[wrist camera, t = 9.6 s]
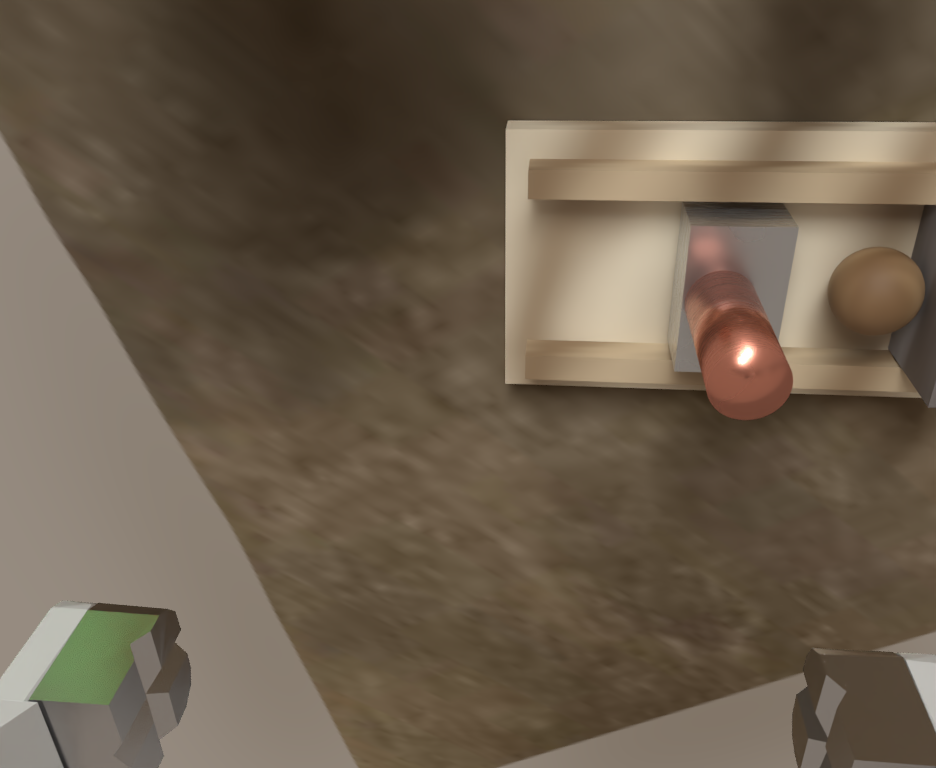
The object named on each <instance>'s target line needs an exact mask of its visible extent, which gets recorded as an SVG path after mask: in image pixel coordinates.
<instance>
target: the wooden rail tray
mask: <svg viewBox="0 0 936 768" xmlns="http://www.w3.org/2000/svg"><path fill="white" fill-rule="evenodd" d="M682 201H694V202H769V203H783V204H784V206H785V207H786V209H787V210H788V212H789V213H790V215H791V216H792V218H793V219H794V221H795V222H796V224H797V225H798V227H799V230H798V236H797V241H796V247H795V252H794V258H793V263H792V269H791V274H790V280H789V285H788V291H787V296H786V301H785V307H784V312H783V318H782V323H781V329H780V334H779V340H778V341H779V344H780V346H781V348H782V350H783V353H784V355H785V357H786V359H787V361H788V364H789V366H790V368H791V371H792V374H793V387H792V390H791V393H793V394H822V395H851V396H880V397H909V398H922V399H923V401H924V402H925V404H926V405H927V407H931V408H936V122H755V121H524V120H508V123H507V127H506V267H505V384H534V385H563V386H591V387H620V388H649V389H678V390H706V387H705V384H704V380H703V376H702V372H676V371H674V368H673V363H672V359H671V354H670V349H669V344H668V340H667V337H668V328H669V319H670V309H671V300H672V291H673V282H674V273H675V264H676V254H677V245H678V236H679V227H680V218H681V208H682ZM870 247H888V248H892V249H895V250H898V251H900V252H902V253H904V254H906V255H907V256H909V257H910V258H911V259H912V260H913V261H914V262H915V263H916V264H917V266H918V267H919V269H920V270H921V272H922V275H923V278H924V281H925V297H924V301H923V304H922V306H921V308H920V310H919V312H918V313H917V315H916V316H915V317H914V318H913V320H911V321H910V322H909V323H908V324H907V325H905V326H904V327H902V328H901V329H899V330H897V331H895V332H892V333H889V334H885V335H876V336H872V335H863V334H860V333H857V332H854V331H852V330H850V329H848V328H847V327H845V326H844V325H842V324H841V323H840V322H839V321H838V320H837V318H836V317H835V316H834V314H833V313H832V311H831V308H830V306H829V303H828V296H827V290H828V284H829V280H830V278H831V275H832V273H833V272H834V270H835V268H836V267H837V266H838V265H839V264H840V263H841V262H842V261H843V260H844V259H845V258H846V257H848V256H849V255H851V254H852V253H854V252H856V251H859V250H862V249H865V248H870Z"/></svg>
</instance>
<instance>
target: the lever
mask: <svg viewBox="0 0 936 768" xmlns="http://www.w3.org/2000/svg"><path fill="white" fill-rule="evenodd" d="M798 230H799V227H798V225H797V224H796V222H795V221H794V219H793V218H792V216H791V215H790V213H789V212H788V210H787V209H786V207H785V206H784V204H783V203H769V202H694V201H682V208H681V218H680V227H679V236H678V245H677V254H676V264H675V273H674V282H673V291H672V300H671V309H670V319H669V328H668V337H667V340H668V344H669V349H670V354H671V359H672V363H673V368H674V371H676V372H702V376H703V380H704V384H705V387H706V391H707V395H708V398H709V400H710V402H711V404H712V405H713V407H714V408H715V409H716V410H717V411H719V412H720V413H722V414H723V415H725V416H727V417H730V418H733V419H738V420H753V419H758V418H762V417H765V416H767V415H769V414H771V413H773V412H774V411H776V410H777V409H779V408H780V407H781V406H782V405H783V404H784V403H785V401H786V400H787V399H788V397H789V395H790V393H791V390H792V387H793V374H792V371H791V368H790V366H789V364H788V361H787V359H786V357H785V355H784V353H783V350H782V348H781V346H780V344H779V341H778V340H779V334H780V329H781V323H782V318H783V312H784V307H785V301H786V296H787V291H788V285H789V280H790V274H791V269H792V263H793V258H794V252H795V247H796V241H797V236H798Z"/></svg>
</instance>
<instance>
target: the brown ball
mask: <svg viewBox="0 0 936 768" xmlns="http://www.w3.org/2000/svg"><path fill="white" fill-rule="evenodd" d="M827 296H828V303H829V306H830V308H831V311H832V313H833V314H834V316H835V317H836V318H837V320H838V321H839V322H840V323H841V324H842V325H844V326H845V327H847V328H848V329H850V330H852V331H854V332H857V333H860V334H863V335H872V336H876V335H885V334H889V333H892V332H895V331H897V330H899V329H901V328H902V327H904V326H905V325H907V324H908V323H909V322H910V321H911V320H913V318H914V317H915V316H916V315H917V313H918V312H919V310H920V308H921V306H922V304H923V301H924V297H925V281H924V278H923V275H922V272H921V270H920V269H919V267H918V266H917V264H916V263H915V262H914V261H913V260H912V259H911V258H910V257H909V256H907V255H906V254H904V253H902V252H900V251H898V250H895V249H892V248H888V247H870V248H865V249H862V250H859V251H856V252H854V253H852V254H851V255H849V256H848V257H846V258H845V259H844V260H843V261H842V262H841V263H840V264H839V265H838V266H837V267H836V268H835V270H834V272H833V273H832V275H831V278H830V280H829V284H828V290H827Z"/></svg>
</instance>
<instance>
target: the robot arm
mask: <svg viewBox="0 0 936 768" xmlns="http://www.w3.org/2000/svg"><path fill="white" fill-rule="evenodd" d="M180 631H181V628H180V625H179V622H178V618H177V615H176V612H175V611H172V610H168V609H161V608H148V607H138V606H127V605H116V604H103V603H86V602H74V601H61V602H60V603H58V604H56V605H55V606H53V607H52V608H51V609H50V610H49V611H48V613H47V614H46V615H45V617H44V618H43V620H42V621H41V623H40V624H39V625H38V627H37V628H36V630H35V631H34V632H33V634H32V635H31V636H30V638H29V639H28V641H27V642H26V643H25V645H24V646H23V647H22V649H21V650H20V652H19V653H18V654H17V656H16V657H15V659H14V660H13V661H12V663H11V664H10V666H9V667H8V669H7V670H6V671H5V673H4V674H3V675H2V677H1V678H0V768H158V767H159V765H160V763H161V761H162V759H163V756H164V755H163V751H162V748H161V744H160V741H159V740H160V739H161V738H162V737H164V736H165V735H166V734H168V733H169V732H170V731H172V730H173V729H174V728H175V727H177V726H178V724H179V722H180V720H181V717H182V715H183V713H184V710H185V708H186V705H187V700H188V696H189V691H190V686H191V667H190V663H189V658H188V655H187V653H186V652H185V651H184V650H183V649H182V648H180V647H179V646H178V645H177V644H176V643H175V641H176V638H177V637H178V634H179V633H180ZM803 672H804V675H805V678H806V682H807V685H808V686H807V687H806V688H805V689H803V690H802V691H801V692H799V693H798V694H797V695H796V699H795V704H794V709H793V714H792V737H793V745H794V752H795V757H796V761H797V765H798V768H936V655H933V654H914V653H893V652H881V651H862V650H842V649H822V648H812V649H811V650H810V651H809V653H808V654H807V656H806V660H805V663H804V667H803Z"/></svg>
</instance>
